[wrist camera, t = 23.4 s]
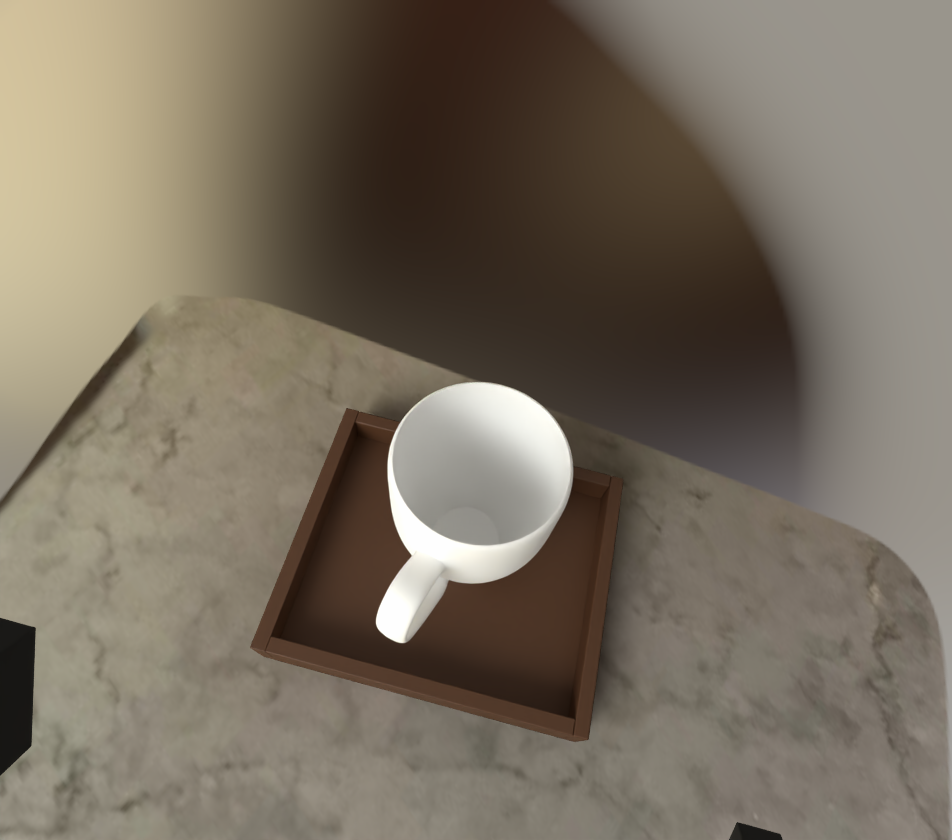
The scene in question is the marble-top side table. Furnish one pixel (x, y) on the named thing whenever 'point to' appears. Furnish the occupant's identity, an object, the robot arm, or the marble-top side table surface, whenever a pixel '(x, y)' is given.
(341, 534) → the tray
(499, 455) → the mug
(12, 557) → the marble-top side table surface
